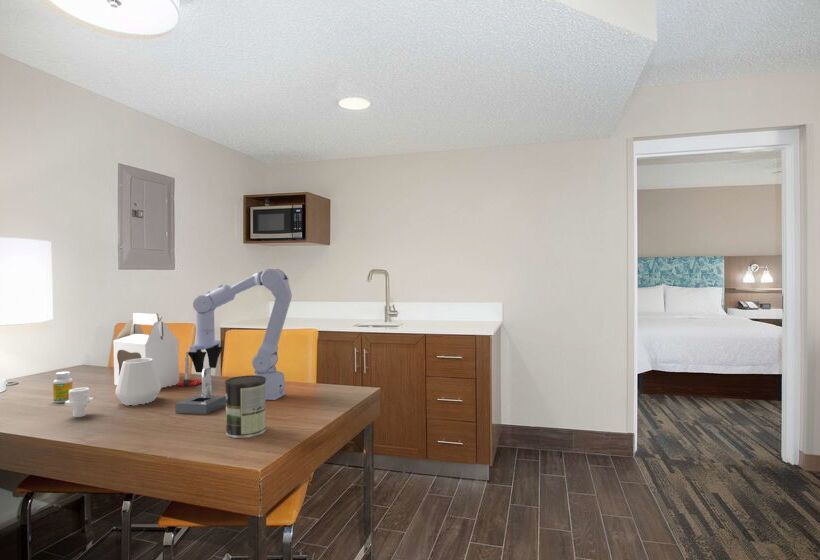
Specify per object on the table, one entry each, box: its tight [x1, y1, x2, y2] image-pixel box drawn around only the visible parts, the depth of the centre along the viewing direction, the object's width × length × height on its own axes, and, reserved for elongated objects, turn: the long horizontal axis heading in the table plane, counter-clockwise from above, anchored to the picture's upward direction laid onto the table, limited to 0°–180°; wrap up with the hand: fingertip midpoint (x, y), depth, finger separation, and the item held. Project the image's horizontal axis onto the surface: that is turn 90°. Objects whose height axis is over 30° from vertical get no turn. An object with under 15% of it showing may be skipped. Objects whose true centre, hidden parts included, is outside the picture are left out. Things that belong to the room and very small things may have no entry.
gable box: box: [112, 312, 180, 389], centre depth 187 cm, size 22×13×28 cm, turn 59°
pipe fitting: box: [64, 387, 94, 418], centre depth 145 cm, size 6×7×8 cm
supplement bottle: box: [52, 371, 74, 404], centre depth 163 cm, size 5×5×10 cm
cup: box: [115, 358, 162, 406], centre depth 161 cm, size 13×13×14 cm
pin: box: [201, 367, 212, 395], centre depth 165 cm, size 3×3×10 cm
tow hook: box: [176, 351, 202, 387], centre depth 188 cm, size 8×13×9 cm
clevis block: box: [174, 394, 226, 415], centre depth 151 cm, size 10×10×3 cm
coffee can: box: [224, 374, 267, 439], centre depth 128 cm, size 10×10×14 cm
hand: (206, 369), depth 165 cm, fingers open, 7 cm apart
